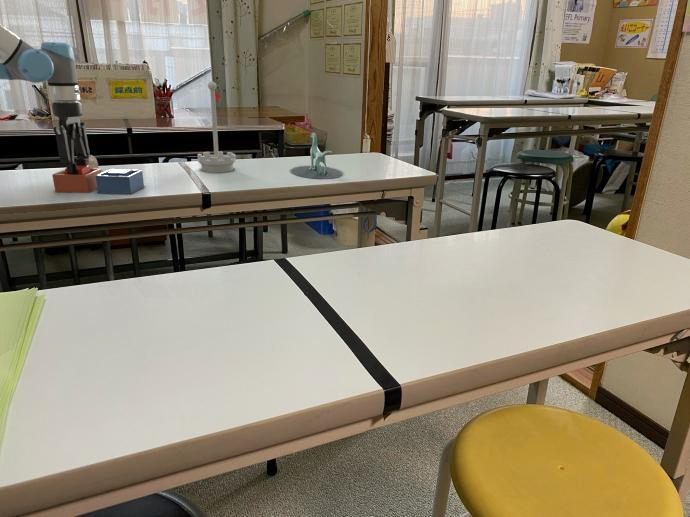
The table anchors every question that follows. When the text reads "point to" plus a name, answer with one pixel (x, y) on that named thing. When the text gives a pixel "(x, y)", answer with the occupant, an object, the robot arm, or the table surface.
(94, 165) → the rock
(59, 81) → the robot arm
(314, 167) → the dinosaur
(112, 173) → the blue block
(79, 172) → the red block
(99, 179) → the blue bin
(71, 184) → the terracotta bin
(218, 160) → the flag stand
